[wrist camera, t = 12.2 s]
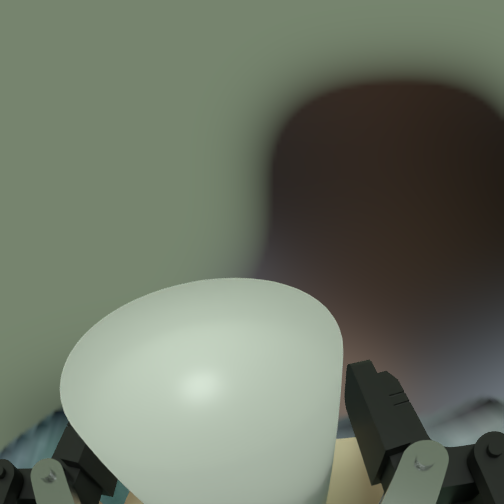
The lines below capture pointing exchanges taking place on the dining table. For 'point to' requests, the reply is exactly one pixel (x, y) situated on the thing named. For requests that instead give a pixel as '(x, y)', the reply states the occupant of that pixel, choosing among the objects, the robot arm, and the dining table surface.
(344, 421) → the dining table surface
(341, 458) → the shelf stand
